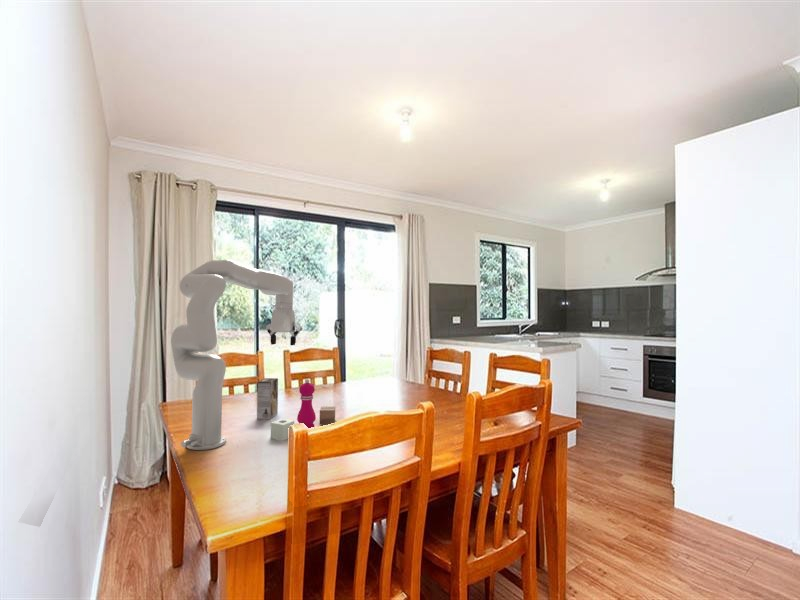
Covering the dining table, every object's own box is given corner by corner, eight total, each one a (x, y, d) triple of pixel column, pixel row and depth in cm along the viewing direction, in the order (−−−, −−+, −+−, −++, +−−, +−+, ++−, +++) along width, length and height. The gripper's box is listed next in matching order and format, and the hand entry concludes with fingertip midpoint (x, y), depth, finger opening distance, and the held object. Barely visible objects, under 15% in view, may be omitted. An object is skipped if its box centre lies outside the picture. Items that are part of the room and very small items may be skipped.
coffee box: (263, 413, 182) (264, 377, 182) (277, 413, 182) (278, 378, 182) (256, 419, 172) (256, 381, 173) (270, 419, 172) (271, 382, 172)
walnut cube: (334, 424, 167) (334, 410, 167) (319, 424, 166) (319, 410, 166) (335, 420, 173) (335, 406, 173) (321, 420, 172) (321, 406, 172)
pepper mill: (310, 432, 156) (311, 381, 156) (293, 431, 157) (294, 380, 157) (318, 427, 163) (319, 377, 163) (301, 425, 164) (302, 377, 164)
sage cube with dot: (283, 440, 146) (283, 424, 146) (270, 438, 149) (270, 422, 149) (294, 436, 152) (294, 420, 152) (281, 433, 154) (282, 418, 154)
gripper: (262, 306, 179) (261, 344, 179) (297, 307, 175) (296, 346, 175) (271, 306, 187) (270, 343, 186) (305, 307, 182) (304, 344, 182)
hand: (283, 344), depth 181 cm, fingers open, 9 cm apart
